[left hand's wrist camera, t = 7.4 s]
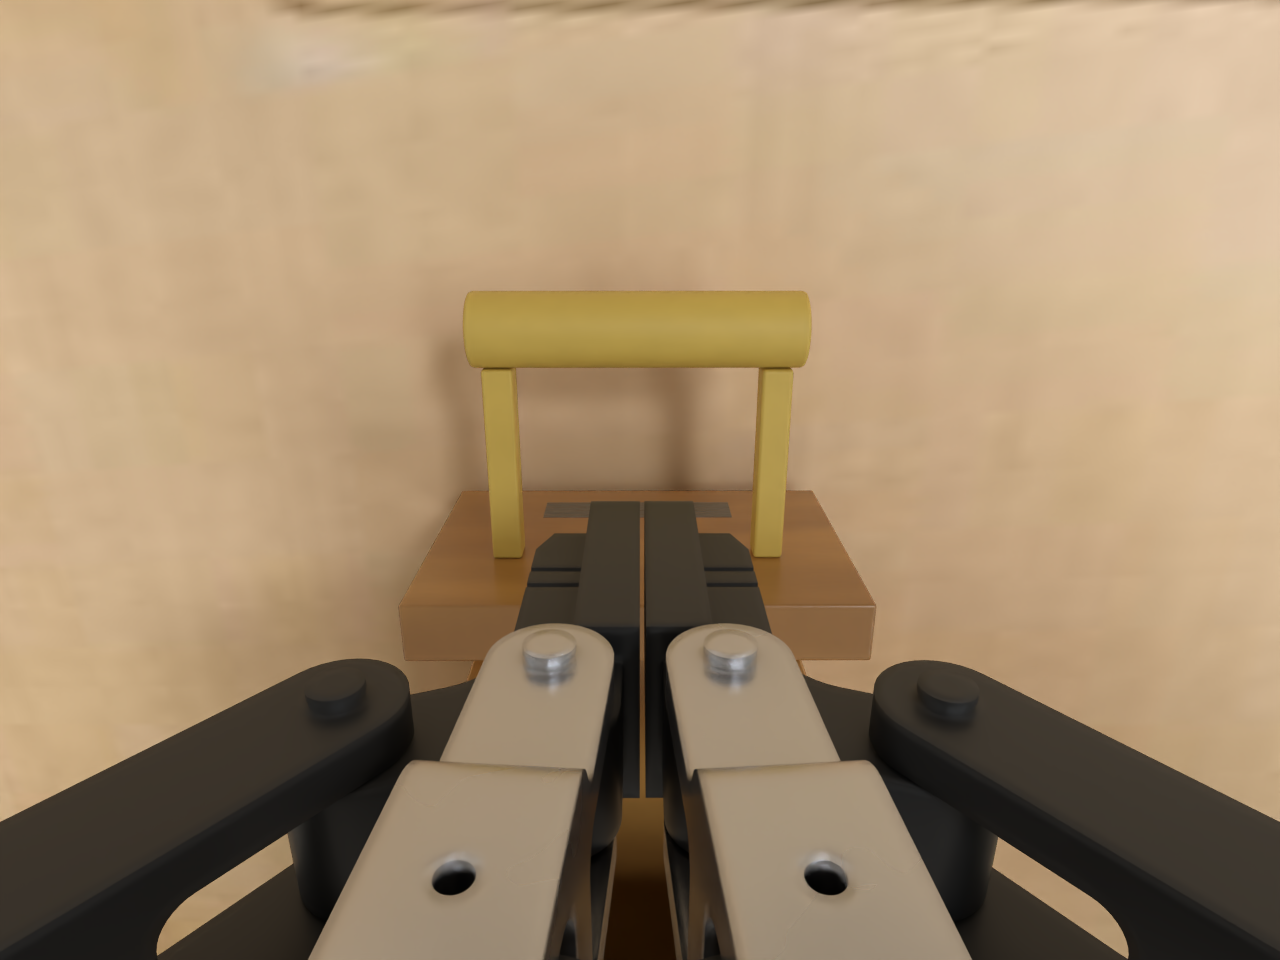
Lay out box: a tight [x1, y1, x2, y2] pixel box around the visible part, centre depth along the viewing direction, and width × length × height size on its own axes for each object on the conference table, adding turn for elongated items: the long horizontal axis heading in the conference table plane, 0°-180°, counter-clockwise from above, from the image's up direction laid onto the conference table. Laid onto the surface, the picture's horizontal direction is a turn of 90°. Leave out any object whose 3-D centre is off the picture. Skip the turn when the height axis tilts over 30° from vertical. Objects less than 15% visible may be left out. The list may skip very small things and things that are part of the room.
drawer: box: [399, 291, 876, 960], centre depth 20 cm, size 25×9×6 cm, turn 0°
